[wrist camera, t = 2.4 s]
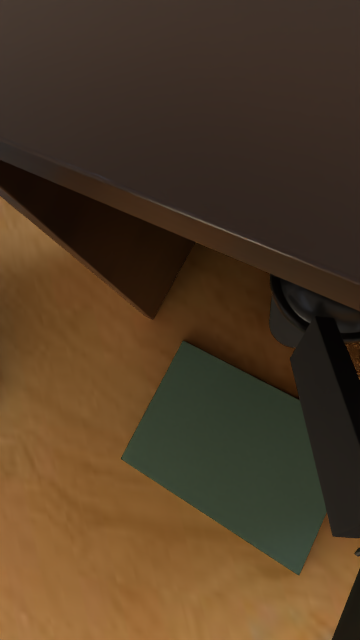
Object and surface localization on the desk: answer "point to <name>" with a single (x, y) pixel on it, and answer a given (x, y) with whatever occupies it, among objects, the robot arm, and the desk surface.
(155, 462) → the mat
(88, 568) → the desk surface
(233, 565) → the desk surface
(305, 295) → the drinking cup
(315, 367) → the robot arm
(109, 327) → the desk surface
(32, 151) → the cabinet
